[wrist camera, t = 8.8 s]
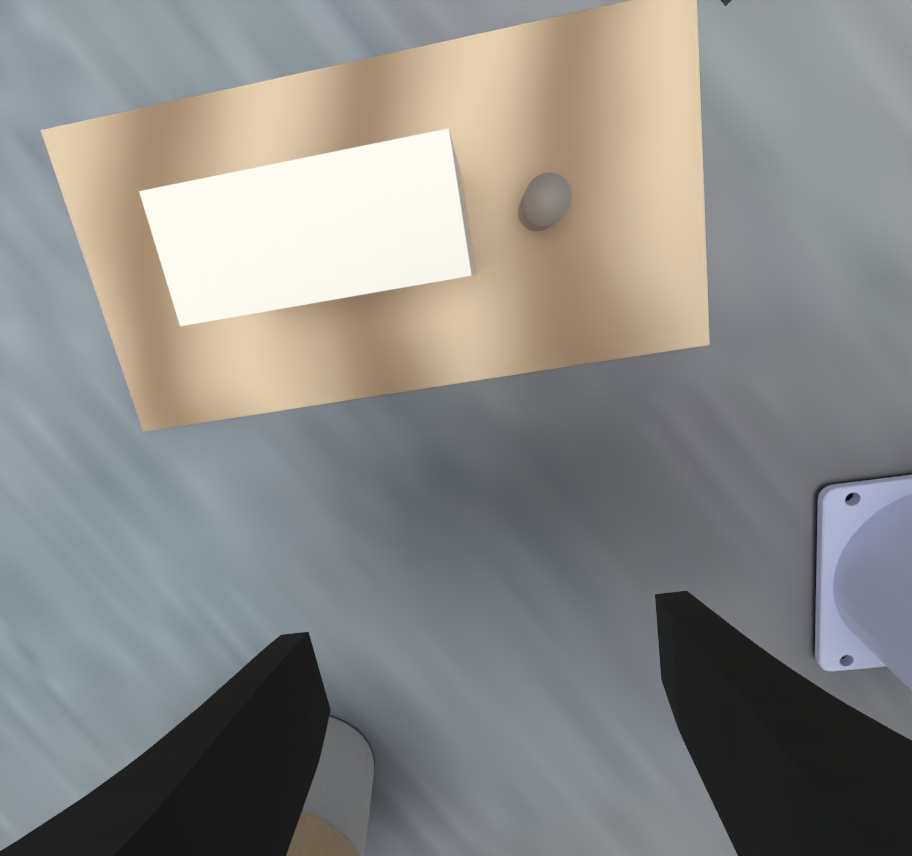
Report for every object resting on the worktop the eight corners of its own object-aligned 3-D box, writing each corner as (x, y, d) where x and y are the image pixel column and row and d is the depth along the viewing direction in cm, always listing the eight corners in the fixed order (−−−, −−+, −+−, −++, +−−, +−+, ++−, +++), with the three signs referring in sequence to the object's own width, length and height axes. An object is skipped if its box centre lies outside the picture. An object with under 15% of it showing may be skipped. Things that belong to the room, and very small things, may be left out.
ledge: (681, 6, 16) (746, -84, 12) (695, 340, 19) (753, 359, 14) (69, 139, 18) (-53, 100, 14) (162, 422, 21) (83, 459, 16)
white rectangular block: (460, 169, 16) (447, 120, 11) (476, 274, 17) (471, 275, 12) (245, 211, 17) (137, 184, 12) (271, 310, 18) (179, 326, 13)
